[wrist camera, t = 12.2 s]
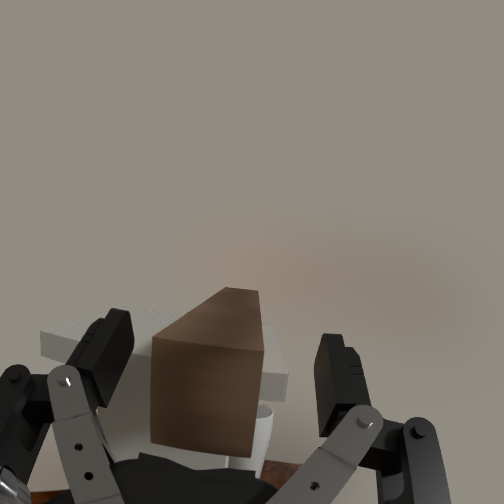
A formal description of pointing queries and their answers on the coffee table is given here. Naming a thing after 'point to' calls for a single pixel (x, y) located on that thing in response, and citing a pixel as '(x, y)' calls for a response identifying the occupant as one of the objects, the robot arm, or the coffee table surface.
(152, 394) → the walnut bar
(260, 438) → the drinking glass
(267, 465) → the coffee table surface
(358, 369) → the robot arm
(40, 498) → the coffee table surface
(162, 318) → the shelf stand
